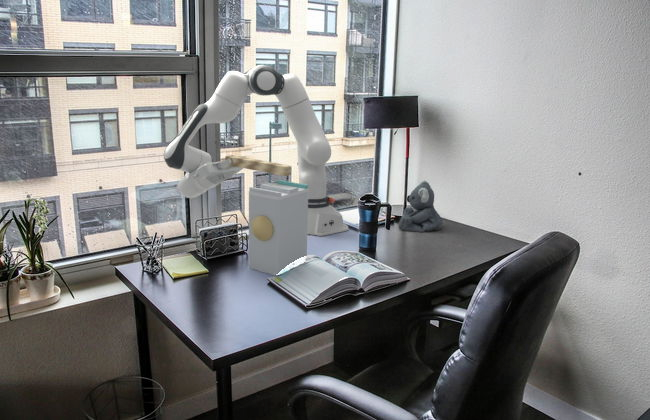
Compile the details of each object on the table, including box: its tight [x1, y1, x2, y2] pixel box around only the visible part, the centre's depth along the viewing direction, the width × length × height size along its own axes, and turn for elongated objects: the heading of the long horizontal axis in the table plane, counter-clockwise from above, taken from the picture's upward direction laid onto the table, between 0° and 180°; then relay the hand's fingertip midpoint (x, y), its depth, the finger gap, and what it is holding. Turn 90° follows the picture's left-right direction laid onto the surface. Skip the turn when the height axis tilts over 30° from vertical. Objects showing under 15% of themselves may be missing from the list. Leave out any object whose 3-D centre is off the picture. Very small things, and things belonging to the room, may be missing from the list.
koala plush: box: [397, 180, 444, 233], centre depth 227 cm, size 17×18×20 cm
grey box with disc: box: [248, 179, 308, 276], centre depth 178 cm, size 12×17×27 cm
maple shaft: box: [225, 154, 292, 177], centre depth 182 cm, size 26×3×3 cm, turn 58°
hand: (235, 159), depth 187 cm, fingers closed on maple shaft, 3 cm apart
